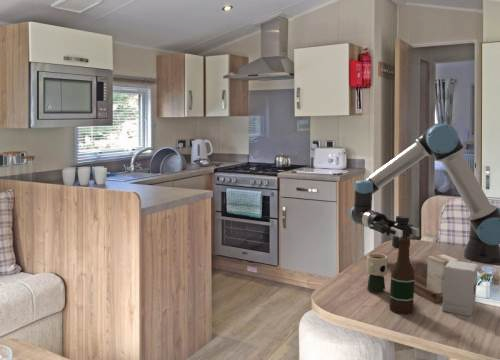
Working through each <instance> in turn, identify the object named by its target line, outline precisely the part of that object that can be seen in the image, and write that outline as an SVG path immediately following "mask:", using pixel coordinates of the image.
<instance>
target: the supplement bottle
mask: <svg viewBox="0 0 500 360" xmlns="http://www.w3.org/2000/svg"><path fill="white" fill-rule="evenodd" d="M395 221H396V223H394V224H393V227H394V228H396V229H399V230H402V231H403V237H408V238H410V239H411V237H412V234H411V225H412V224H411V223H409V222H410V217H409V216H406V215H397V216H395ZM410 224H411V225H410ZM391 246H392V248H395V249H397V250H399V237H397V236H394V235H392V234H391ZM410 247H411V242H410V243H409V248H410Z"/></svg>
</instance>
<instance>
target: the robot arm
mask: <svg viewBox="0 0 500 360" xmlns="http://www.w3.org/2000/svg"><path fill="white" fill-rule="evenodd" d="M464 149H465V147H464V145H463V144H462V142H461V140H460V138H459V134H458V132H457V130H456V129H455V127H454V126H452V125H450V124H448V123H443V122H442V123H441V122H438V123H434V124H432V125H430V126H429V127H428V128H427V129H426V130H425V131H424V132H423V133H422V134H421V135H420V136H418V137H417V138H416V139H415V142H413V144H411V145H410V146H408V147H407V148H406V149H404V150H403V151H402V152H400V153H399V154H397V155H395V156H394V157H393V158H392V159H390V160H389V161H388V162H386V163H385V164H384V165H383V166H381V167H379V168H378V169H377V170H376V171H374V172H373V173H371V174H370V175H369V176H367V177H366V178H364V179H359V180H356V181H355V185H354V205H353V207H351V209H350V210H349V217H350V220H352V222H354V223H355V224H358V225H362V226H363V227H366V228H368V229H369V230H373V231H376V232H378V233H381V234H383V235H384V234H386V236H390V235H391V236H392V235H394V236H397V237H403V231H402V230H399V229H396V228H394V227H393V224H394V223H396V220H391V219H390V218H388V217H387V216H386V214H384V213H381V212H378V211H376V210H373V209H372V206H373V194H375V193H376V192H378V191H379V190H380V189H382V188H383V187H384V186H386V185H387V184H389V183H390V182H391V181H392V180H395V178H397V177H398V176H400V175H401V174H403V173H404V172H405V171H407V170H408V169H410V168H411V167H412V166H414V165H415V164H416V163H418V162H420V161H421V160H422V159H424V158H425V157H430V156H432V155H433V157H434V158H435V160H436V162H439V163H441V164H442V165H443V167H444V168H445V170H446V172H447V173H448V176H449V178H450V179H451V181H452V183H453V185H454V187H455V189H456V191H457V192H458V194H459V196H460V198H461V200H462V201H463V203H464V205H465V207H466V208H467V210H468V212H469V216H468V220H469V222H470V223H469V224H470V225H469V239H468V242H467V244H466V248H464V251H463V256H464V258H465V259H467V260H470V261H473V262H477V263H478V262H479V263H487V264H488V263H489V264H494V263H496V264H497V263H500V207H497V205H494V204H491V202H490V201H489V199H488V197H487V195H486V193H485V192H484V190H483V188H482V186H481V185H480V182H479V181H478V179H477V177H476V175H475V173H474V172H473V170H472V168H471V166H470V163H469V162H468V161H467V159H466V157H465V155H464V154H463V152H464ZM409 224H410V225H411V236H415V237H420V229H419V228H416V227H414V226H413V224H411V223H409Z"/></svg>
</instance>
